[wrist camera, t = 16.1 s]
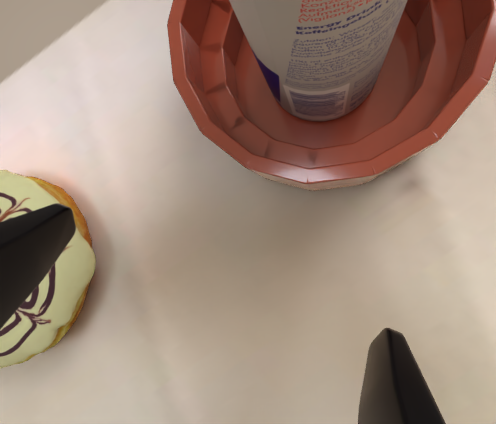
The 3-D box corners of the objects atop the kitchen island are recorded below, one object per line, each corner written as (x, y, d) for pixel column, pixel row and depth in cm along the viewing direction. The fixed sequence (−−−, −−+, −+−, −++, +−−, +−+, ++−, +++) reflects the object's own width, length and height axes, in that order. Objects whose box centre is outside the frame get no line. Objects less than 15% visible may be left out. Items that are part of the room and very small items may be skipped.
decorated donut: (141, 243, 20) (99, 251, 16) (49, 381, 21) (-8, 417, 18) (19, 145, 22) (-44, 131, 18) (-58, 278, 23) (-130, 291, 19)
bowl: (507, 105, 16) (589, 58, 11) (276, 231, 18) (258, 239, 13) (371, -101, 17) (389, -227, 12) (172, 42, 19) (121, -15, 14)
